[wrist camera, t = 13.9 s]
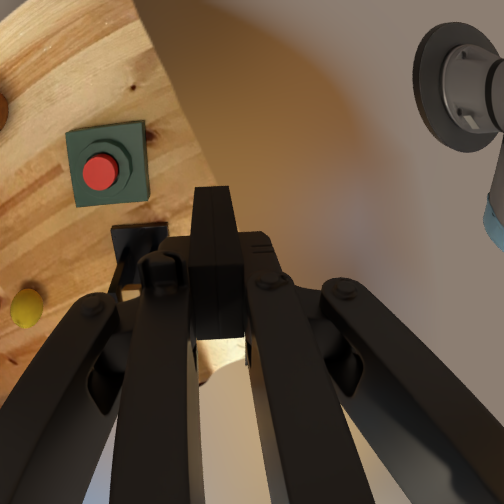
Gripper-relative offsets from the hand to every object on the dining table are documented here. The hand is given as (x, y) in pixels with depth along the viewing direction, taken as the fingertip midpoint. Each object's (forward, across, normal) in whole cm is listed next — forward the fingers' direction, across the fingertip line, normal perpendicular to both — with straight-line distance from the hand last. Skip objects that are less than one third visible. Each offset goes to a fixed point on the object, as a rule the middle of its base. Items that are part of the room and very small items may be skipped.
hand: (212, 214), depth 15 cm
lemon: (+26, -31, -23) cm, 47 cm away
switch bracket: (+27, -10, -17) cm, 33 cm away
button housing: (+27, -13, -3) cm, 30 cm away
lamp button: (+23, -13, -3) cm, 26 cm away
